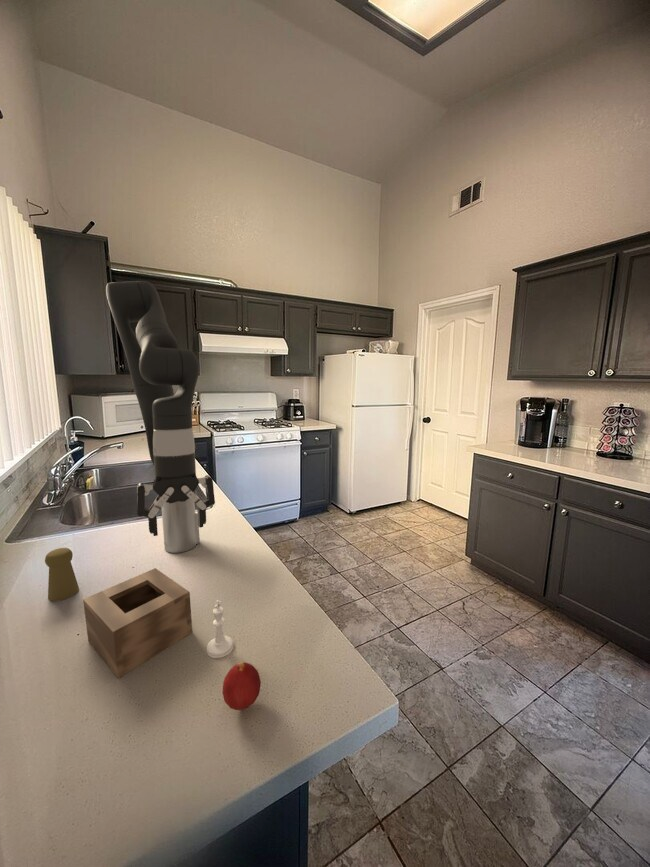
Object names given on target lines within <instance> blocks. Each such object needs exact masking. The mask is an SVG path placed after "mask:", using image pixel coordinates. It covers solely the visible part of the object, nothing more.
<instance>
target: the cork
mask: <svg viewBox="0 0 650 867" xmlns="http://www.w3.org/2000/svg"><path fill="white" fill-rule="evenodd" d="M73 554H74V553H73V551H72V550H71V549H70V548H68V547H60V548H55V549H53V550H50V551H49V552H48V553H46V554H45V555H46V556H45V557H44V562H45V564H46V567H48V585H47V586H48V588H47V599H48V601H51V602H59V601H64V600H66V599H69V598H71V597H73V596H75V595H76V594H77V593H78V592H79V590H80V587H79V583H78V580H77V577H76V573H75V570H74V568H73V564H72V560H73Z"/></svg>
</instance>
